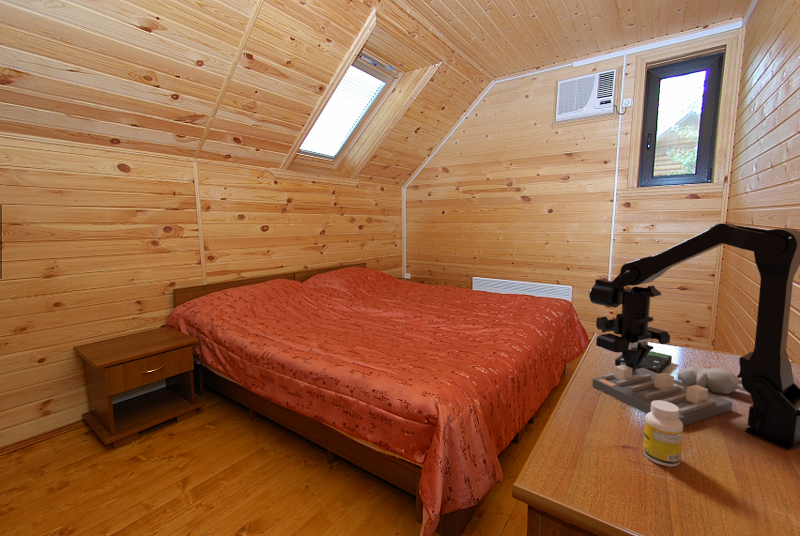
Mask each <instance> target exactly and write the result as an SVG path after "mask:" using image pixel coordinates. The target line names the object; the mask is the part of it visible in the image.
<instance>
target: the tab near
mask: <svg viewBox="0 0 800 536" xmlns="http://www.w3.org/2000/svg"><path fill="white" fill-rule="evenodd" d="M708 393H709V390H708V389H706V388H703V387H701V386H698V385H693V386H689V387H687V393H686V400H687V401H689V402H692V403H694V404H697V403H700V402H704V401H707V396H708Z"/></svg>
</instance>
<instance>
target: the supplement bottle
mask: <svg viewBox="0 0 800 536" xmlns="http://www.w3.org/2000/svg"><path fill="white" fill-rule="evenodd" d="M645 414H646V415H645V418H644V427H643V428H644V431H643V432H644V433H643V446H642V447H643V448H642V451H643V452H642V453H643V454H644V456H645V457H646V458H647V459H648V460H650V461H651V462H653V463H655V464H658V465H660V466H664V467H671V468H673V467H678V466H679V465H680V463H681V460H682V445H683V444H682V443H683V433H684V426H683V424H682V422H681V420H680V419H678V417H679V408H678V407H677V406H676V405H674V404H672V403H670V402H666V401H661V400H655V401H652V402H651V412H649V413H645Z"/></svg>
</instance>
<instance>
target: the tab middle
mask: <svg viewBox="0 0 800 536" xmlns="http://www.w3.org/2000/svg"><path fill="white" fill-rule="evenodd" d="M674 380H675V376H674V375H671V374H668V373H666V372H661V373H660V374H655V380H654V387H656V388H658V389H661V390H663V389H667V388H670V387H673V383H674Z"/></svg>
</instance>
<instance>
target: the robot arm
mask: <svg viewBox="0 0 800 536" xmlns="http://www.w3.org/2000/svg"><path fill="white" fill-rule="evenodd" d="M723 245H728V246H730V247H734V248H738V249H741V250H746V251H750V252H753V255H754V263H755V266H756V267H757V270H758V273H759V275H760V285H759V294H758V295H759V296H758V306H757V315H756V316H757V317H756V327H755V328H756V329H755V338H754V339H755V340H754V349H753V351H750V352H748V353H746V354H744V355H742V356H740V357H739V359H738V361H739V373H738V375H736V377H737V378H742V379H741V383H742V386H743V388H744V389H745V390H746V391H747V392H746V391H745V392H746V393H748V394H749V396H750V397H751V400H752V405H751V406H749V409H748V417H747V426H748V427H746V428H745V429H744V432H746V433H747V434H750V435H752V436H754V437H757V438H760V439H762V440H764V441H766V442H769V443H771V444H773V445H775V446H777V447H780V448H783V449H784V450H788V451H789V450H792V449H795V448H796V447H799V446H800V387H799V386H798V385H797V384H796V383H795V382H794V377H793V376H794V375H793V369H792V364H791V361H790V358H789V355H788V353H787V345H788V334H789V323H790V315H791V314H790V313H791V305H792V304H791V303H792V294H793V285H794V284H793V283H794V278H795V276H796V273H797V272H798V270H799V267H800V231H799V230H797V229H795V228H787V227H785V228H774V229H773V228H772V229H762V228H756V227H755V228H754V227H749V226H743V225H736V224H734V223H730V222H729V223H728V222H727V223H723V222H722V223H717V224H714V225H712V226H711V227H710V228H708V229H706V230H704V231H702V232H700V233H698V234H696V235H693V236H692V237H690V238H688V239H685V240H684V241H682V242H679V243H677V244H675V245H673V246H671V247H668V248H667V249H665V250H663V251H661V252H658V253H656V254H653V255H650V256H646V257H642V258H638V259H635V260H632V261H628V262H625V263H624V264H623V265H622V266H621V267H620V271H619V274H618V275H617V276H616V277H615V278H614V279H613V280H607V279H605V278H598V279H597V278H596V279H595V280H594V282H595V283H594V284H593V285H592V287H591V290H590V292H589V300H590V303H591V304H593V305H594V304H595V305H600V306H605V307H610V308H615V309H616V308H618V307H619V306H620V305H621V312H620V313H619V312H618V313H617V314H616V316H615V317H616V318H611V319H609V318H608V317H607V316H599V317H596V321H595V327H596V328H597V330H599V331H601V333H605V334H599V335H597V336H596V337H595V345H596V346H597V347H599V348H602V349H605V350H608V351H610V352H612V353H619V354H620V353H621V355H623V357H624V360H625V363H626V366H628V367H631V368H633V369H632V372H634V371H635V370H636V369H637V367H638V366H639V364H640V363H641V362H642V360H643V359H644V358H645V357H646V355H647V354H648V353H649V352H651V351H652V350H654V346H652V345H649V342H648V341H651V340H658V341H657V342H658V343H659V344H661V345H667V344H670V343H671V335H670V333H669V332H668V331H667V330H663V329H659V328H656V327H652V326H649V323H650V322H654V317H653V316H650V308H651V307H650V306H651V305H650V304H651V298H655V297H658V296H662V292H660V291H659V290H658V289H657V288H656V287H655V285H653V284H652V285H649V286H647V287H642V286H639V285H644V284H645V285H646V284H648V283H651V282H653V281H655V280H656V279H658V278H660V277H661V276H662V275H664V274H665V273H666V272H667V271H668V270H670V269H671V268H672V267H675V266H677V265H679V264H681V263H684V262H686V261H689V260H691V259H693V258H695V257H698V256H700V255H702V254H705V253H707V252H709V251H711V250H713V249H716V248H719V247H720V246H723ZM630 286H631V287H632V288H627V287H630ZM606 332H607V333H606ZM608 332H609V333H608ZM610 332H613V333H610ZM619 335H620V336H619Z"/></svg>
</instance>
